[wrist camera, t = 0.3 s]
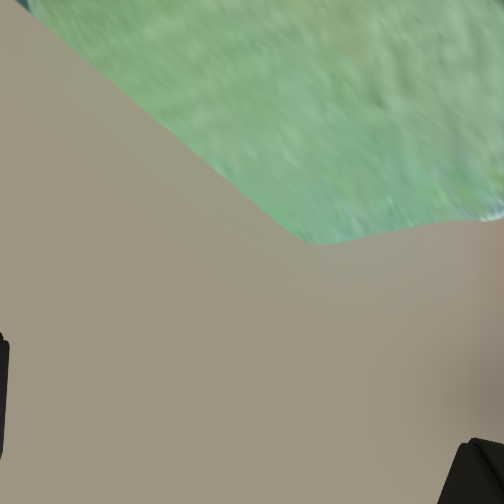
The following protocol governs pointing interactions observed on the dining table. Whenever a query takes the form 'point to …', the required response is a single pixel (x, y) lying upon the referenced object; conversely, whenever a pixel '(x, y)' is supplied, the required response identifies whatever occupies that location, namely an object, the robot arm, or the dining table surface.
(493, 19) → the dining table surface
